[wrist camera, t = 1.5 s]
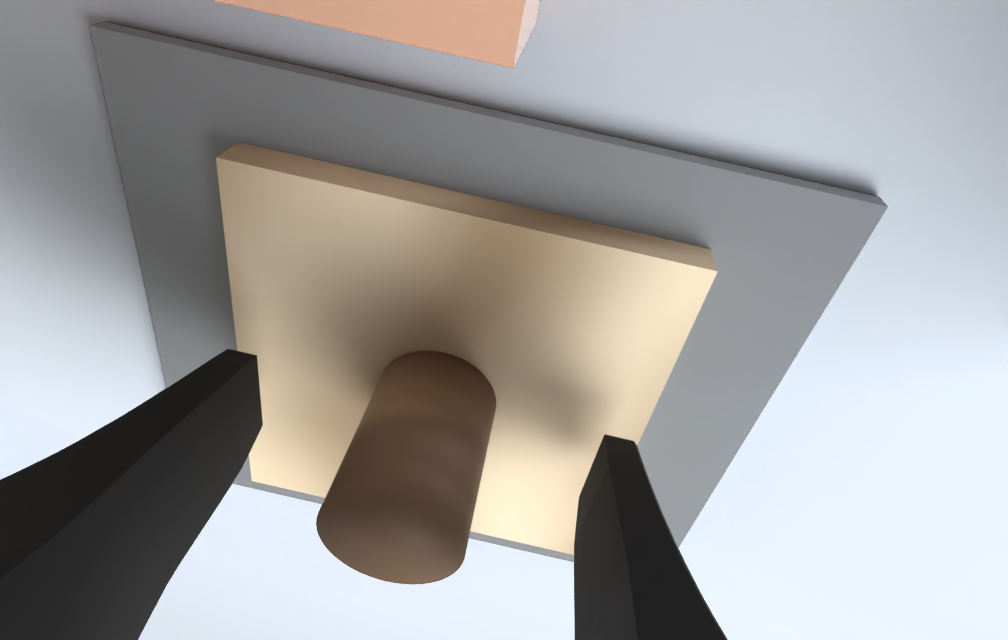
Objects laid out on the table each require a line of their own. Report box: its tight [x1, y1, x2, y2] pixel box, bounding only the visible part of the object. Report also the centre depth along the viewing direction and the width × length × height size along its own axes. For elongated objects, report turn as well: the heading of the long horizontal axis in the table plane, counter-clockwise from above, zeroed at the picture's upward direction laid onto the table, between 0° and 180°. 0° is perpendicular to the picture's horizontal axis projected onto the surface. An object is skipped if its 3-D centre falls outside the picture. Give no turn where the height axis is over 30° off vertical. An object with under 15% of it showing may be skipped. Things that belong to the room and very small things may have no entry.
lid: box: [216, 142, 718, 584], centre depth 12 cm, size 9×9×4 cm
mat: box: [89, 22, 888, 562], centre depth 14 cm, size 14×12×1 cm
